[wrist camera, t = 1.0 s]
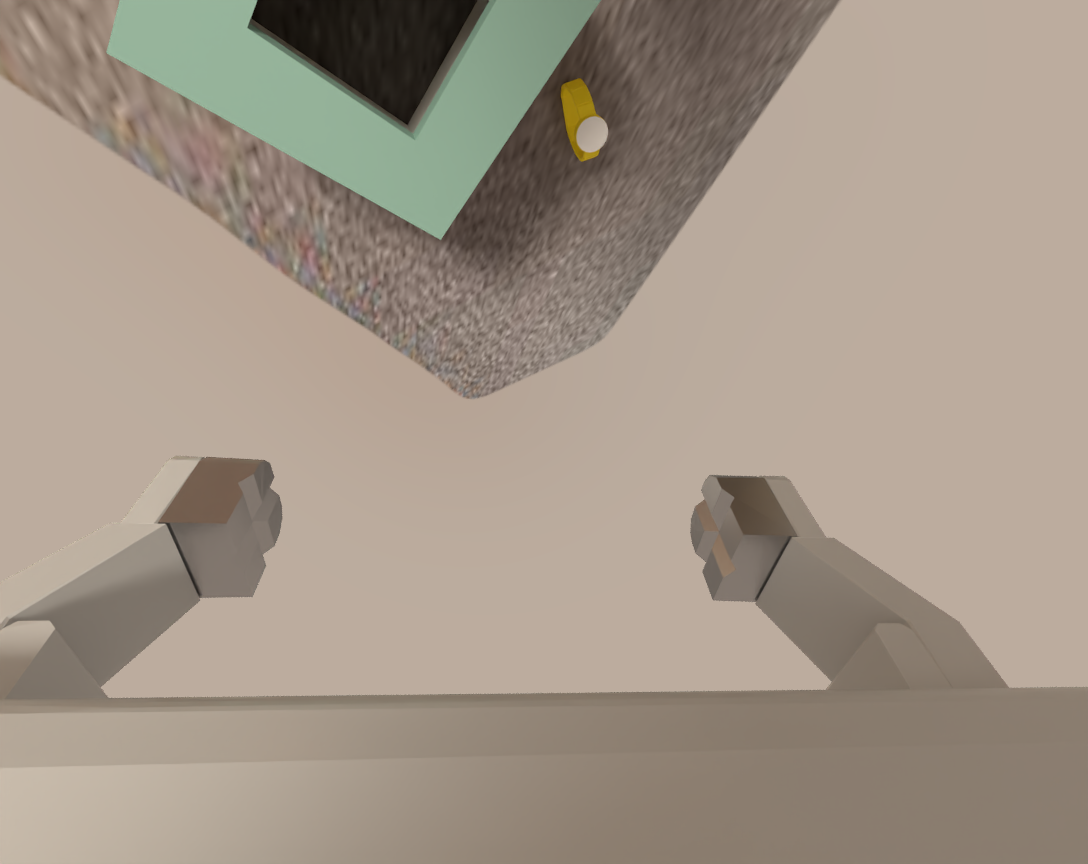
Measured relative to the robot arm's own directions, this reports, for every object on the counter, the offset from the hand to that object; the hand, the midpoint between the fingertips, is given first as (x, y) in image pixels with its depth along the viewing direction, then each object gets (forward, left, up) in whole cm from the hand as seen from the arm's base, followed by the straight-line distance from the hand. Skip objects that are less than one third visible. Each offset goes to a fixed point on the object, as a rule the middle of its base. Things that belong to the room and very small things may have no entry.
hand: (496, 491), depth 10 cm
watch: (+18, +3, -44) cm, 48 cm away
